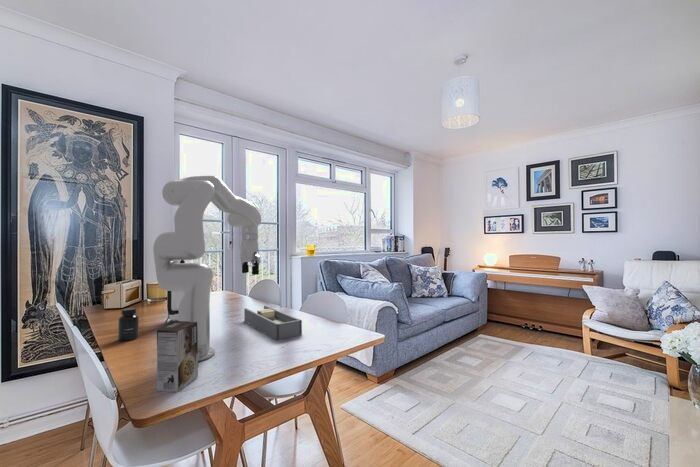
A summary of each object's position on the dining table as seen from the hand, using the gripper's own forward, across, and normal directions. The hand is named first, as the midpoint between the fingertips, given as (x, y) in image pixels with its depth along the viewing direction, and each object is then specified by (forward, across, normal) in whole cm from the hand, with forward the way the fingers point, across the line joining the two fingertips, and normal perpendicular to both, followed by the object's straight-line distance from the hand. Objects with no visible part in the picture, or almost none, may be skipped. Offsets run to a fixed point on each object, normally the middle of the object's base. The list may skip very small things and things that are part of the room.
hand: (250, 273), depth 152 cm
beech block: (+21, +8, +3) cm, 23 cm away
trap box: (+23, +14, +2) cm, 27 cm away
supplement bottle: (+23, -13, -46) cm, 53 cm away
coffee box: (+22, +45, -46) cm, 68 cm away
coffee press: (+24, -27, -22) cm, 42 cm away
